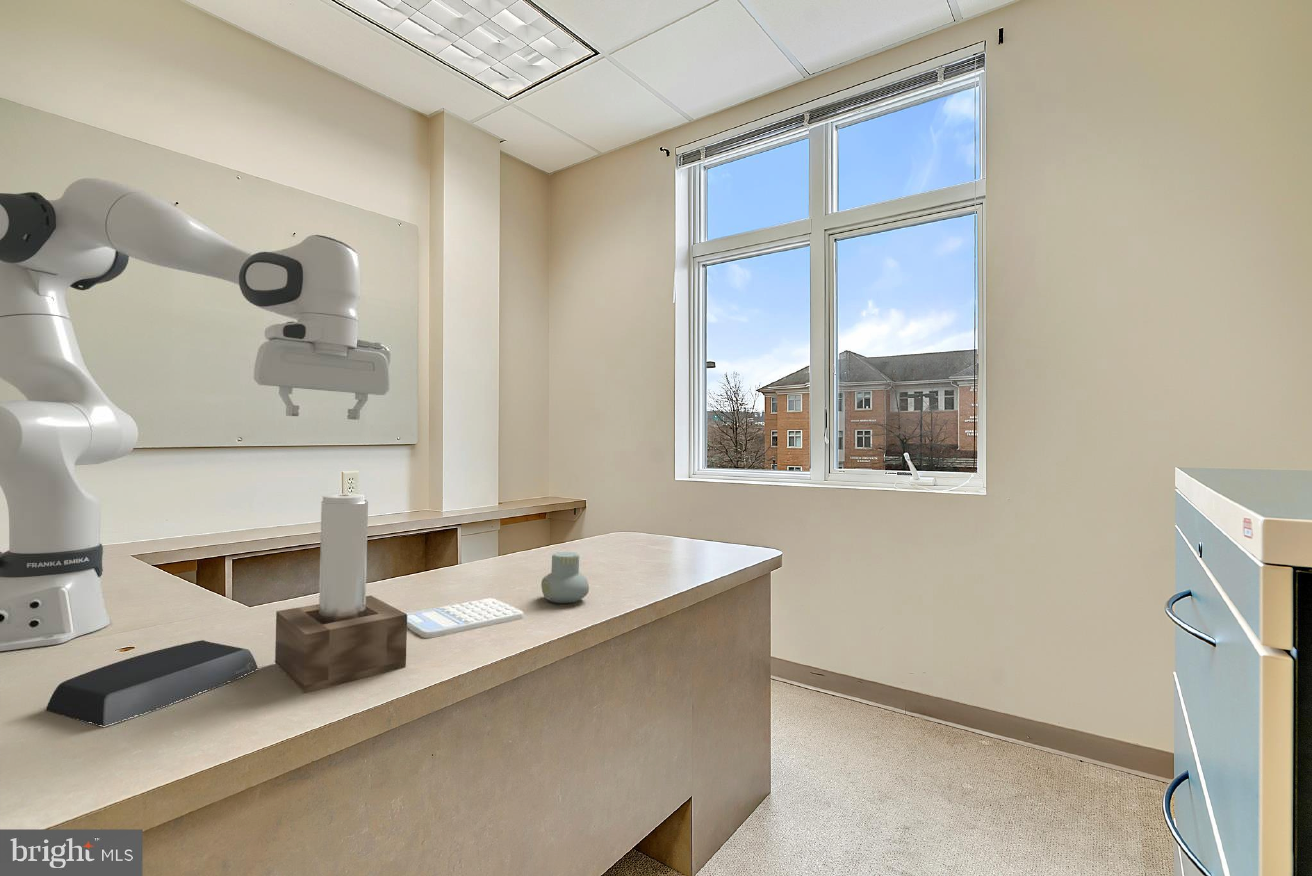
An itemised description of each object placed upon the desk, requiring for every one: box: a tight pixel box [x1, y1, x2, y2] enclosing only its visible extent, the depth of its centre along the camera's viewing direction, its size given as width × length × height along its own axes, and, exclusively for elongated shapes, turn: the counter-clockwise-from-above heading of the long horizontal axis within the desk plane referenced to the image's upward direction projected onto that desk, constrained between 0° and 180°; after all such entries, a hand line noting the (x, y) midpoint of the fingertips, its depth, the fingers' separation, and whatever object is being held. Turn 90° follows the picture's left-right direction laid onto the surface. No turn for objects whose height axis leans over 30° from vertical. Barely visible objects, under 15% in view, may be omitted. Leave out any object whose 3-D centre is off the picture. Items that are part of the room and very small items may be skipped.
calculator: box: [404, 597, 525, 639], centre depth 117 cm, size 13×20×2 cm, turn 133°
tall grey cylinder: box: [318, 493, 369, 624], centre depth 93 cm, size 6×6×25 cm
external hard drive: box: [45, 639, 259, 726], centre depth 83 cm, size 13×19×4 cm
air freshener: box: [540, 551, 590, 604], centre depth 132 cm, size 11×8×10 cm
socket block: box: [274, 595, 408, 693], centre depth 93 cm, size 14×14×8 cm
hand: (323, 417), depth 103 cm, fingers open, 8 cm apart
